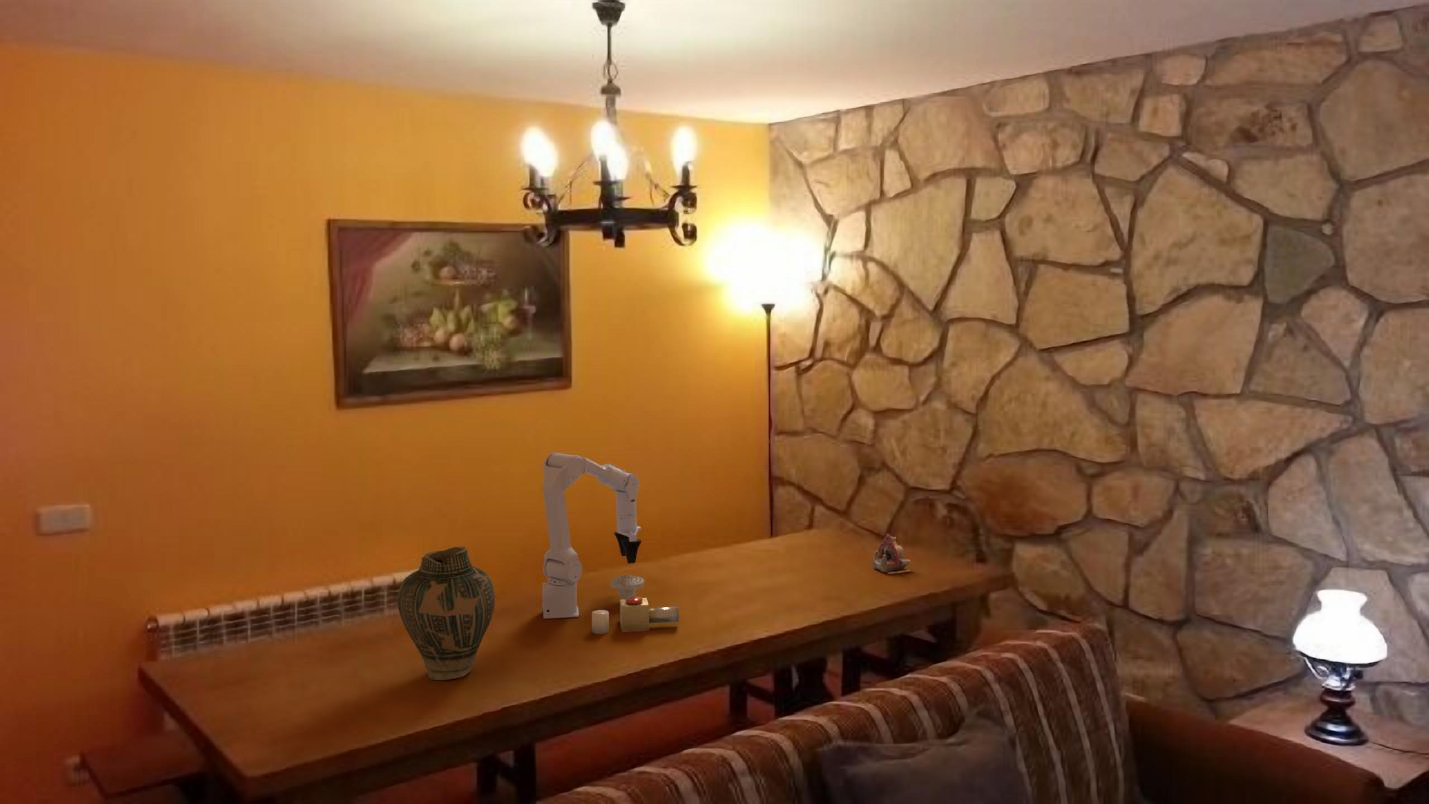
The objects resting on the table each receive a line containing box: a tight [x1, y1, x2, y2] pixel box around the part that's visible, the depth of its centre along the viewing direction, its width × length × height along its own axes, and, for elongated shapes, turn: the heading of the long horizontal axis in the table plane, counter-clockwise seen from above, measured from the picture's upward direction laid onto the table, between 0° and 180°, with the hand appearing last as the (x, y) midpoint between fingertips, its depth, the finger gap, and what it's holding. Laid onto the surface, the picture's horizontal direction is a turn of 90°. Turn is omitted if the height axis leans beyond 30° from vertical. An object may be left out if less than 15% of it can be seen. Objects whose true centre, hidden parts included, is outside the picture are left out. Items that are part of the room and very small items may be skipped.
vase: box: [397, 546, 496, 681], centre depth 268 cm, size 22×22×30 cm
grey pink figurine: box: [871, 533, 912, 575], centre depth 356 cm, size 11×11×12 cm
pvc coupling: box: [591, 609, 610, 635], centre depth 299 cm, size 4×4×5 cm
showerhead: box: [609, 574, 645, 599], centre depth 323 cm, size 9×7×10 cm
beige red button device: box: [619, 596, 680, 633], centre depth 304 cm, size 15×11×8 cm
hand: (628, 559), depth 332 cm, fingers open, 7 cm apart
